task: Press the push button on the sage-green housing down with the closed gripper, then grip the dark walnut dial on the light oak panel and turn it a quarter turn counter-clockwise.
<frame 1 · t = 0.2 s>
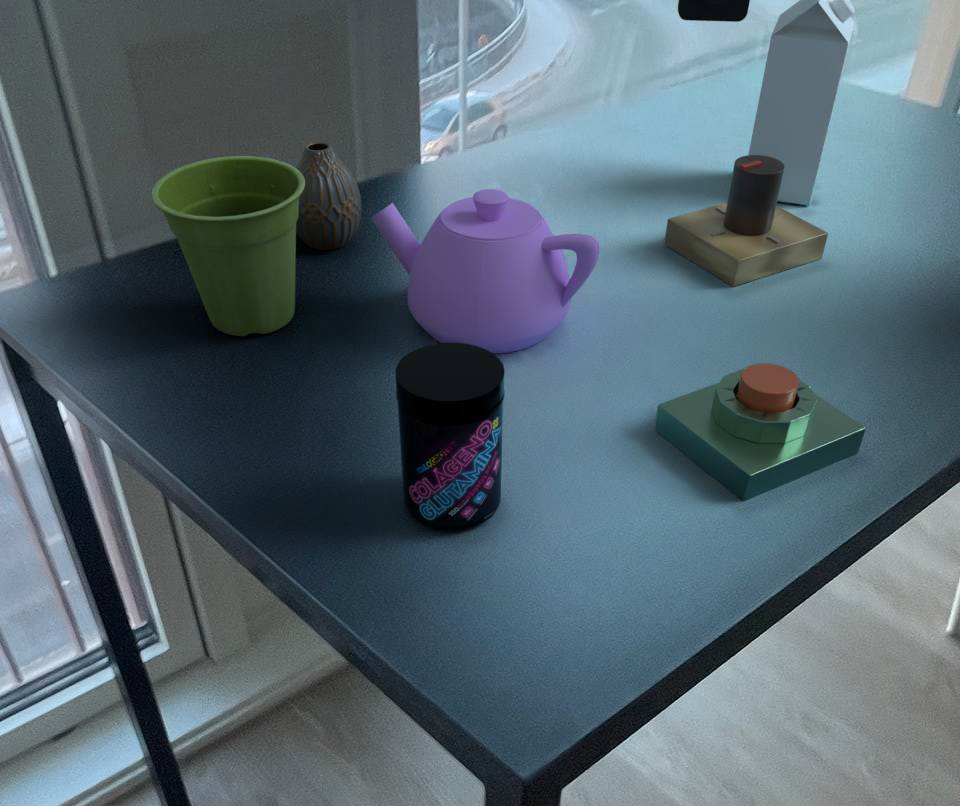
dial: (753, 193, 92), point 5 cm above the table, hinge at 0.0°
push button: (767, 388, 71), point 4 cm above the table, slide at 0.1 cm
dial panel: (742, 251, 96), on the table
vase: (328, 243, 97), on the table
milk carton: (778, 191, 106), on the table
plant pot: (251, 320, 87), on the table
teapot: (480, 319, 87), on the table
supplement container: (452, 507, 69), on the table
button housing: (754, 441, 75), on the table
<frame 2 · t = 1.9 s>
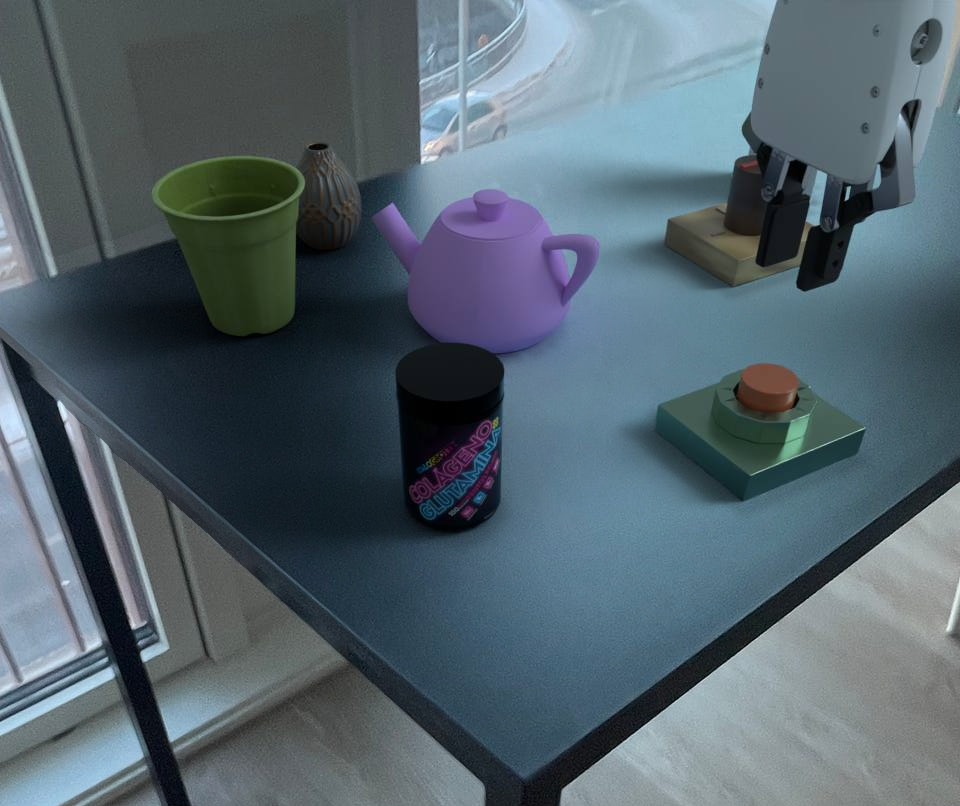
hand: (796, 270, 65), 13 cm above the table, tool pointing down, fingers open, 3 cm apart
nothing on the table moved.
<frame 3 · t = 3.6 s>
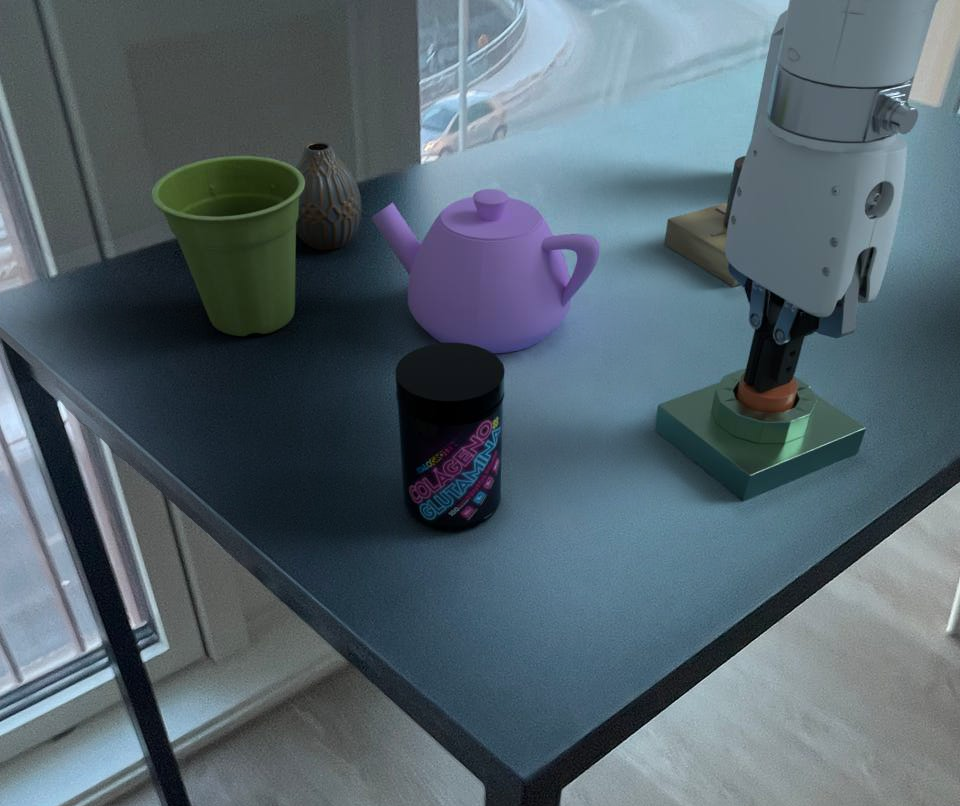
hand: (767, 382, 71), 5 cm above the table, tool pointing down, fingers closed
push button: (766, 393, 72), point 4 cm above the table, slide at -0.3 cm, touching gripper
everything else where it was.
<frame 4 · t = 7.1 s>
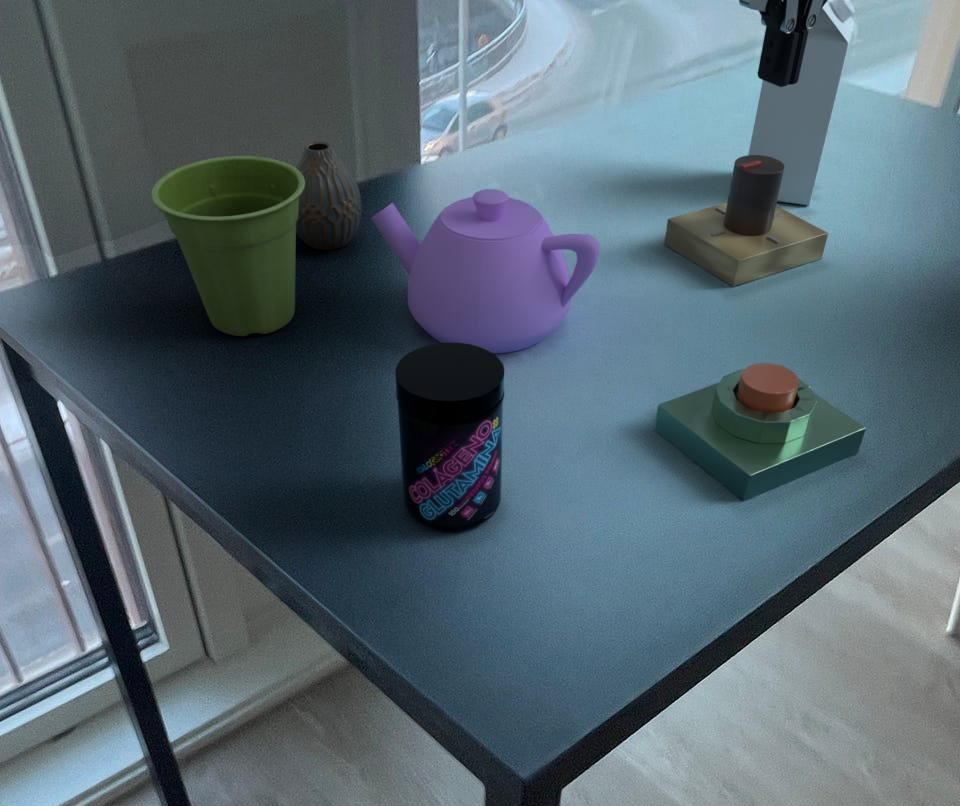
hand: (776, 80, 85), 15 cm above the table, tool pointing down, fingers closed
push button: (767, 388, 71), point 4 cm above the table, slide at 0.1 cm
everything else where it was.
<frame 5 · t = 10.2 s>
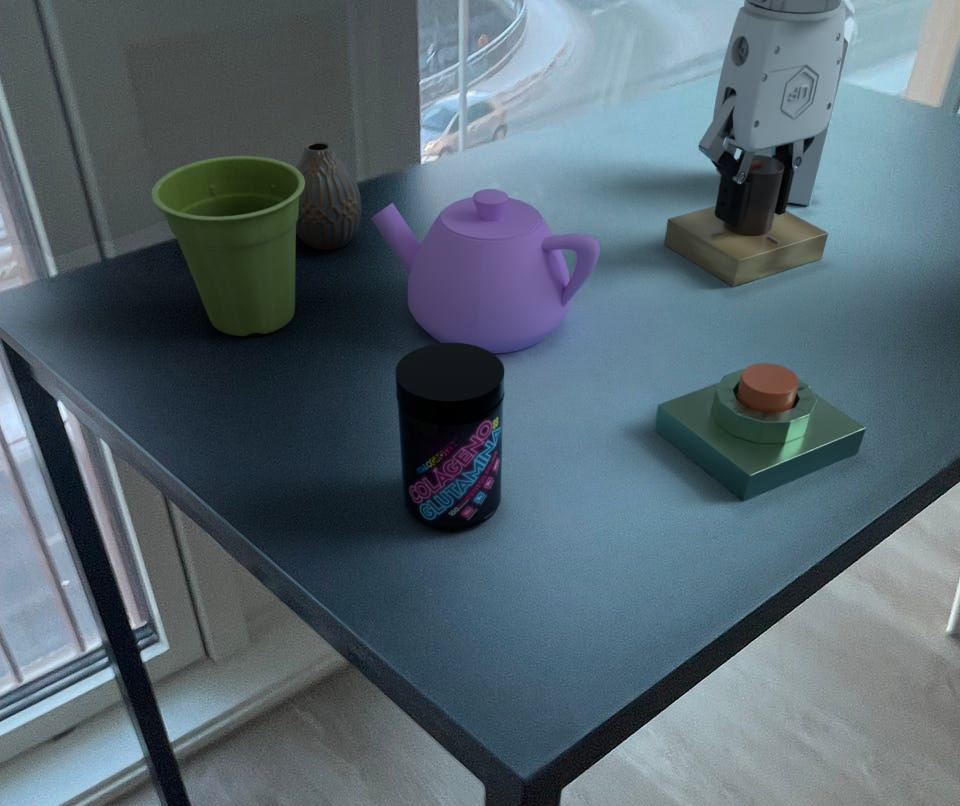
hand: (749, 213, 93), 4 cm above the table, tool pointing down, fingers closed on dial, 4 cm apart
dial: (753, 193, 92), point 5 cm above the table, hinge at 0.1°, touching gripper
everything else where it was.
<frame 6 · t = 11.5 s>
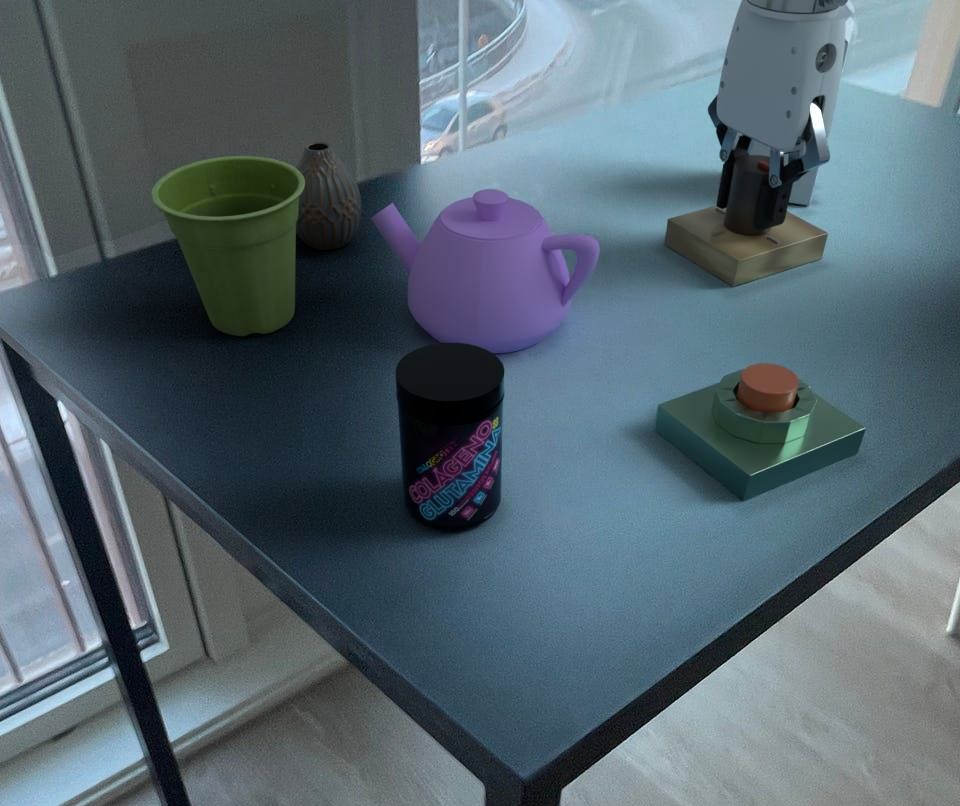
hand: (749, 213, 93), 4 cm above the table, tool pointing down, fingers closed on dial, 4 cm apart
dial: (753, 193, 92), point 5 cm above the table, hinge at 90.6°, touching gripper
everything else where it was.
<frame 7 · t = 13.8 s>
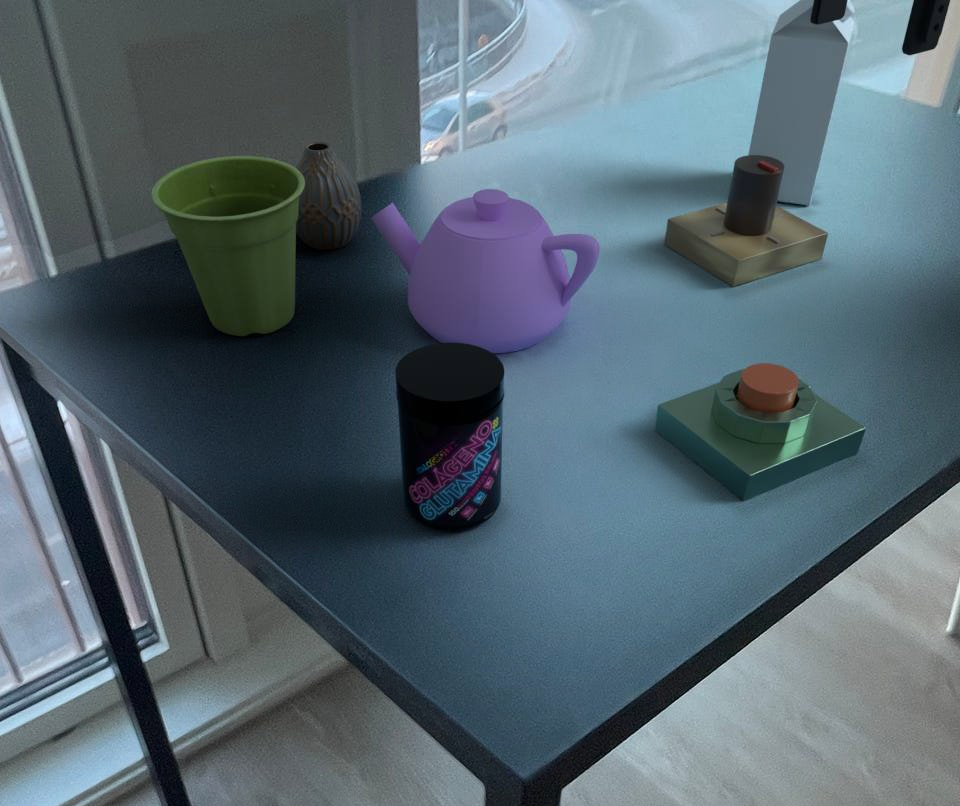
hand: (870, 35, 79), 19 cm above the table, tool pointing down, fingers open, 9 cm apart
dial: (753, 193, 92), point 5 cm above the table, hinge at 89.8°
everything else where it was.
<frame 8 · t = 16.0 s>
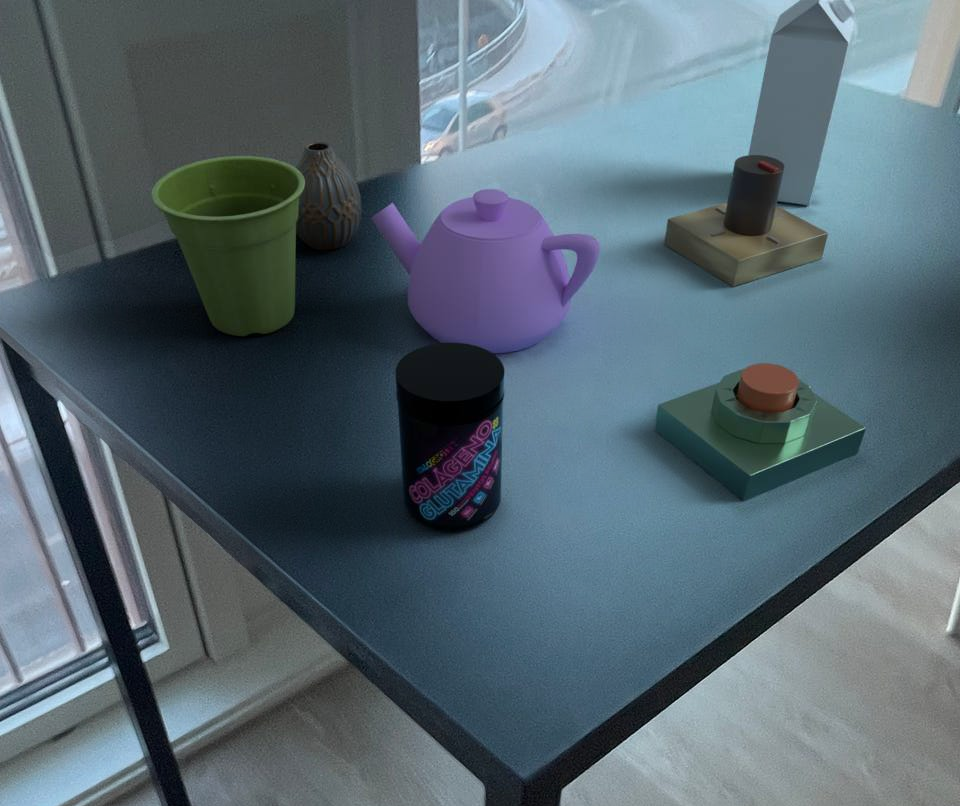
nothing on the table moved.
at the end: push button pushed in 1.1 cm at the most during the clip, back to where it started at the end; push button slide at 0.1 cm; dial at +90° (first picture: +0°) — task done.
